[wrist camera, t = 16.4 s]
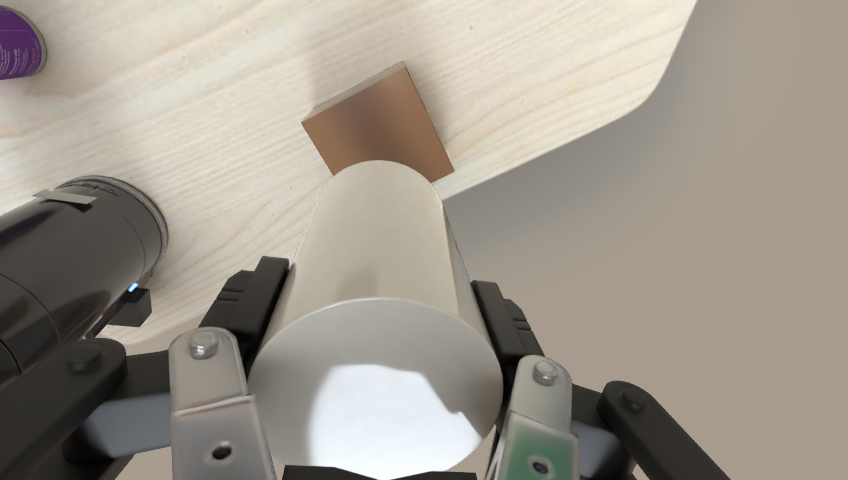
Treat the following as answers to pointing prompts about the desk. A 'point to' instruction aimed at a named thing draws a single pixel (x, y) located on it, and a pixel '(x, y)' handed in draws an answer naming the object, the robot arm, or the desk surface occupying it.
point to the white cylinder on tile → (377, 336)
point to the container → (19, 45)
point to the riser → (378, 126)
